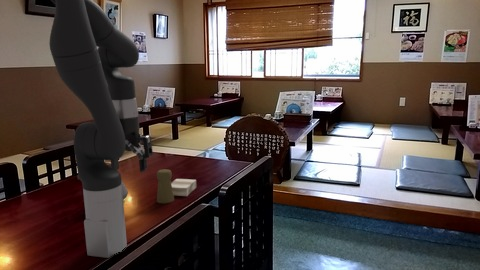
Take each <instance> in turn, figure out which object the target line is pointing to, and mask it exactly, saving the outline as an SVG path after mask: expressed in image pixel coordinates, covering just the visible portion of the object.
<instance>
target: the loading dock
mask: <svg viewBox="0 0 480 270" xmlns="http://www.w3.org/2000/svg"><path fill="white" fill-rule="evenodd" d="M171 185H172V190H173V195H174V196H179V197H180V196H181V197H188V196H189V195H190V194H191V193H192V192H193V191H195V189H197V179H188V178H176V179H174V180H173V181H171Z"/></svg>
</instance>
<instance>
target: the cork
mask: <svg viewBox="0 0 480 270" xmlns="http://www.w3.org/2000/svg"><path fill="white" fill-rule="evenodd" d="M172 177H173V175H172V171H171V170H170V169H165V168H164V169H159V170H158V171H157V172H156V179H157V180H158V183H157V196H156V197H157V199H156V203H159V204H169V203H172V202H174V201H175V195H173V190H172V185H171V183H172V181H171V178H172Z"/></svg>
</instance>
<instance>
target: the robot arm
mask: <svg viewBox="0 0 480 270" xmlns="http://www.w3.org/2000/svg"><path fill="white" fill-rule="evenodd" d="M50 1H51V2H52V3H53V4H54V5H55V12H54V18H53V20H52V21H53V22H52V26H51V29H50V35H49V49H50V50H49V51H50V53H51V56H52V60H53V61H54V63H53V64H54V66H55V68H56V71H57V74H58V76H59V77H60V79H61V81H62V82H63V83H64V85H65V86H66V87H67V88H68V89H69V90H70V91H71V93H72V94H74V95H75V96H76V97H77V99H78V100H80V102H81V103H82V104H83V105H84V106H86V109H87V110H88V111H89V113H90V115H91V116H92V120H93V121H87V122H83V123H81V124H78V126H77V127H76V129H75V131H74V135H73V148H74V149H73V150H74V156H75V161H76V162H75V163H76V167H77V174H78V175H79V176H78V175H77V176H78V178H79V179H80V181H81V183H82V191H83V202H84V211H85V212H84V213H85V219H84V221H83V225H84V234H85V245H86V253H87V256H88V257H89V256H91V257H99V258H110V257H112V256H114V254H115V255H117V254H119V253H118V252H120V253H121V252H123V251H124V250H125V249H126V248H127V247H128V244H127V243H128V242H127V232H126V229H127V228H126V219H125V209H124V208H125V207H124V200H123V192H122V182H123V180H122V174H121V173H120V172H119V169H120V162H119V161H120V160H119V159H120V158H122V157H123V156H124V154H125V151H127V152H132V153H133V154H134V155H136V156H137V158H138V163H139V173H144V172H146V171H147V170H148V162H147V159H148V158H150V157H152V156H153V155H154V152H153V146H152V145H153V144H152V139H151V138H152V137H151V135H150V134H148V135H143V136H142V135H141V133H140V121H139V110H138V102H137V97H136V96H137V95H136V86H135V80H134V79H133V78H132V77H130V76H127V75H123V74H122V73H121V71H120V70H119V68H122V69H123V68H132V67H134V66H136V65H137V64H138V62H139V59H140V58H139V57H140V53H139V49H138V47H137V45H136V43H135V42H134V41H133V40H132V39H131V38H130V36H128V35H127V34H125V33H124V32H123V31H121V30H120V29H119V28H118V27H117V26H116V25H114V23H113V22H112V21H111V19H110V17H108V15H107V14H106V11H104V10H103V8H102V7H101V6H100V5H99V4H98V3H96V1H94V0H50ZM141 144H142V145H143V146H142V145H141ZM105 161H110V164H111V167H112V168H111V167H109V166H108V164H107V163H106V162H105ZM125 247H126V248H125ZM124 248H125V249H124ZM123 249H124V250H123ZM122 250H123V251H122ZM116 253H117V254H116Z"/></svg>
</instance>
